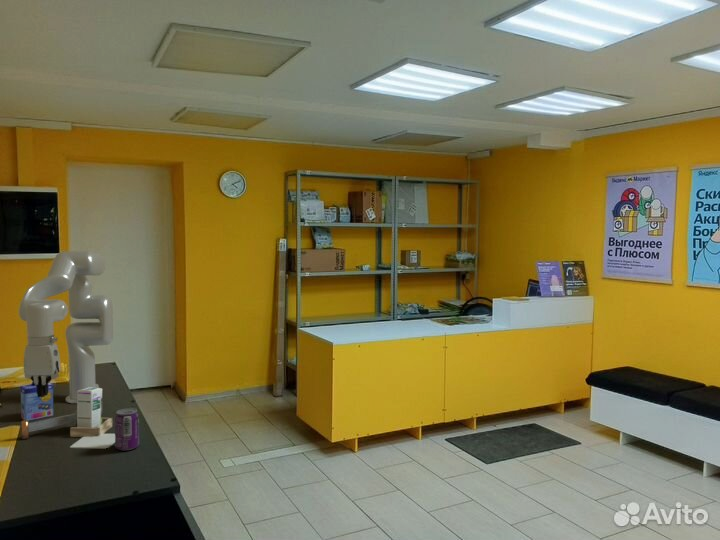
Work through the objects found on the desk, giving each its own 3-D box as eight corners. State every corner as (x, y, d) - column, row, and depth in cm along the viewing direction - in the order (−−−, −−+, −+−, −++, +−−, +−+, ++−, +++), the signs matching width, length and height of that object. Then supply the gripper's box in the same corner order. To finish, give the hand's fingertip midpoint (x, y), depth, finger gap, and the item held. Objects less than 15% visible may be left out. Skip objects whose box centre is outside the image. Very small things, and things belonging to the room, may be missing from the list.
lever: (81, 424, 203) (81, 408, 203) (84, 426, 201) (83, 410, 201) (21, 437, 190) (20, 420, 190) (23, 439, 188) (22, 422, 188)
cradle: (86, 425, 203) (86, 417, 203) (113, 426, 203) (112, 417, 203) (70, 436, 192) (70, 428, 192) (98, 437, 192) (98, 428, 192)
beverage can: (144, 445, 185) (143, 409, 185) (128, 453, 179) (127, 415, 178) (126, 442, 188) (125, 406, 187) (110, 450, 181) (109, 413, 180)
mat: (88, 434, 194) (88, 433, 194) (123, 434, 194) (123, 433, 194) (69, 448, 182) (69, 446, 182) (107, 448, 182) (107, 447, 182)
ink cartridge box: (25, 422, 206) (24, 382, 205) (20, 418, 210) (18, 379, 209) (54, 415, 213) (53, 377, 212) (49, 412, 217) (48, 374, 216)
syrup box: (91, 433, 194) (92, 390, 194) (76, 432, 195) (77, 389, 195) (102, 429, 200) (103, 387, 200) (87, 427, 201) (88, 386, 201)
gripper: (69, 338, 190) (71, 392, 192) (24, 338, 190) (26, 392, 192) (57, 343, 183) (59, 399, 184) (10, 342, 183) (13, 399, 184)
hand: (42, 395), depth 188 cm, fingers closed
